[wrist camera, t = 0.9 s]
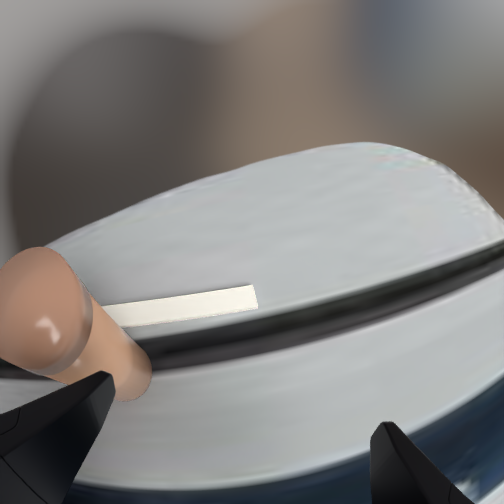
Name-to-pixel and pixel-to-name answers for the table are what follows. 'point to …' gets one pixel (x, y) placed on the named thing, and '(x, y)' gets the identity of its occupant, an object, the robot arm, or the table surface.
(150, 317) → the line
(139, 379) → the tumbler
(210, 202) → the table surface
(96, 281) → the table surface
